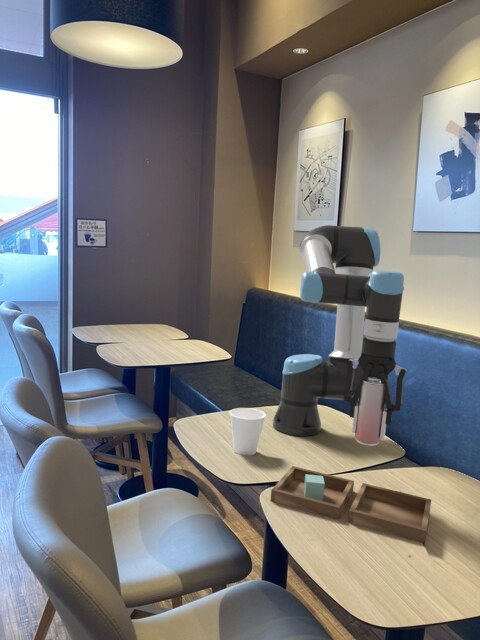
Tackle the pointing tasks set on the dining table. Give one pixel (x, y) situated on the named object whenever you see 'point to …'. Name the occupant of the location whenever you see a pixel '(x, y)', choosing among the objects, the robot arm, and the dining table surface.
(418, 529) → the tray
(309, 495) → the teal block
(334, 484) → the tray
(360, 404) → the beverage can
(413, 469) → the dining table surface
